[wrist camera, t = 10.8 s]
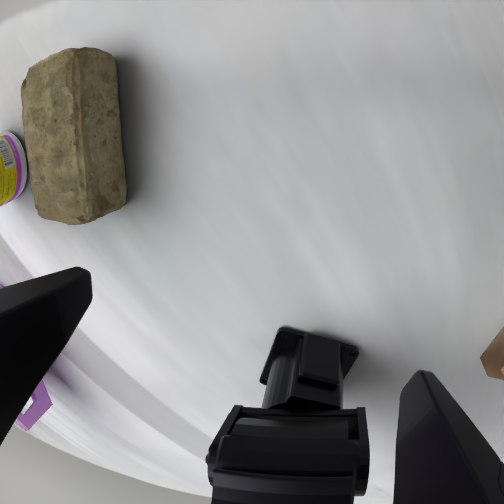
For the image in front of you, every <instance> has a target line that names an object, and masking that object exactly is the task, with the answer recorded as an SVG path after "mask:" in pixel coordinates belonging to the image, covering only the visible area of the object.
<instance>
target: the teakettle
mask: <svg viewBox="0 0 504 504" xmlns="http://www.w3.org/2000/svg"><path fill="white" fill-rule="evenodd" d="M0 288H4V287H3V286H2V285H0ZM31 397H32V399H33V401H34V402H33V403H32V405H31V406H30V407H29V409H28V410H27V411H26V412H25V414H24V415H23V414H22V413H21V412H20V414H19V415H18V417H17V419H16V420H15V422H17V423H18V424H19V425H20V426H21V427H22V428H23V429H25V430H29V429H30V428H31V427H32V426H33V425H34V424H35V422H36V421H37V420H38V419H39V418H40V417H41V416H42V415H43V414H44V413H45V412H46V411H47V410H48V409H49V408H50V407H51V406H52V405H53V404H52V402H51V400H50V397H49V395H48V392H47V390H46V388H45V385H44V382H43V380H41V382H40V383H39V385H38V386H37V388H36V389H35V391H34V392H33V394H32V395H31Z"/></svg>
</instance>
